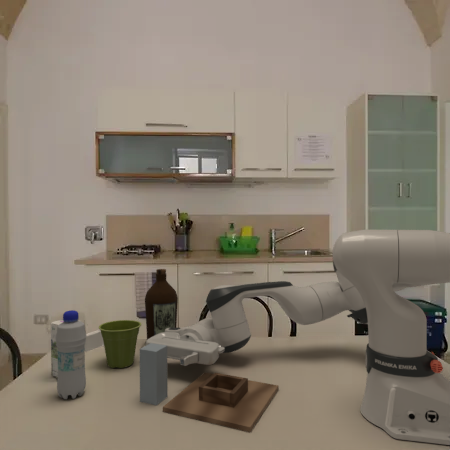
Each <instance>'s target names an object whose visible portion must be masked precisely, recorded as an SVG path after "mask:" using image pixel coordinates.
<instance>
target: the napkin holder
mask: <svg viewBox="0 0 450 450" xmlns="http://www.w3.org/2000/svg"><path fill="white" fill-rule="evenodd" d="M101 347H104V342H103V337H102V334H101V330H100V329H97V330H94V331H90V332H88V333H87V332H86V343H85V353H87V352H90V351H92V350H96V349H98V348H101Z"/></svg>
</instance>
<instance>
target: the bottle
mask: <svg viewBox="0 0 450 450" xmlns="http://www.w3.org/2000/svg"><path fill="white" fill-rule="evenodd" d="M62 319H63V321H64V322H63V323H61V324H59V325H58V327H57V334H56V346H57V348H58V378H56V379H57V380H56V383H57V385H56V389H57V390H56V391H57V394H58V397H59V398H63V400H68V399H69V396H71V399H72V400H75V399H76V398H77V396H78V397H80V396H82V395H84V392H85V389H86V386H87V381H86V380H87V378H86V368H85V367H86V366H85V365H86V362H85V361H86V355H85V353H86V352H85V343H86V334H87V332H86V331H87V330H86V325H85V322H83V321H81V320H79V311H77V310H75V309H73V310H67V311H65V312H64V313H63V315H62ZM78 320H79V321H78Z"/></svg>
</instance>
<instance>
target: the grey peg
mask: <svg viewBox="0 0 450 450" xmlns="http://www.w3.org/2000/svg"><path fill="white" fill-rule="evenodd" d="M168 388H169V387H168V358H167V345H160V344H154V343H150V344H148V345H146V346H145V345H144V346H142V347H141V348H139V402H140V403H145V404H148V405H149V404H150V405H153V406H158V405H159V404H160V403H162V402H163V401H164V400H165V399H167V398H168V391H169V389H168Z"/></svg>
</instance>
